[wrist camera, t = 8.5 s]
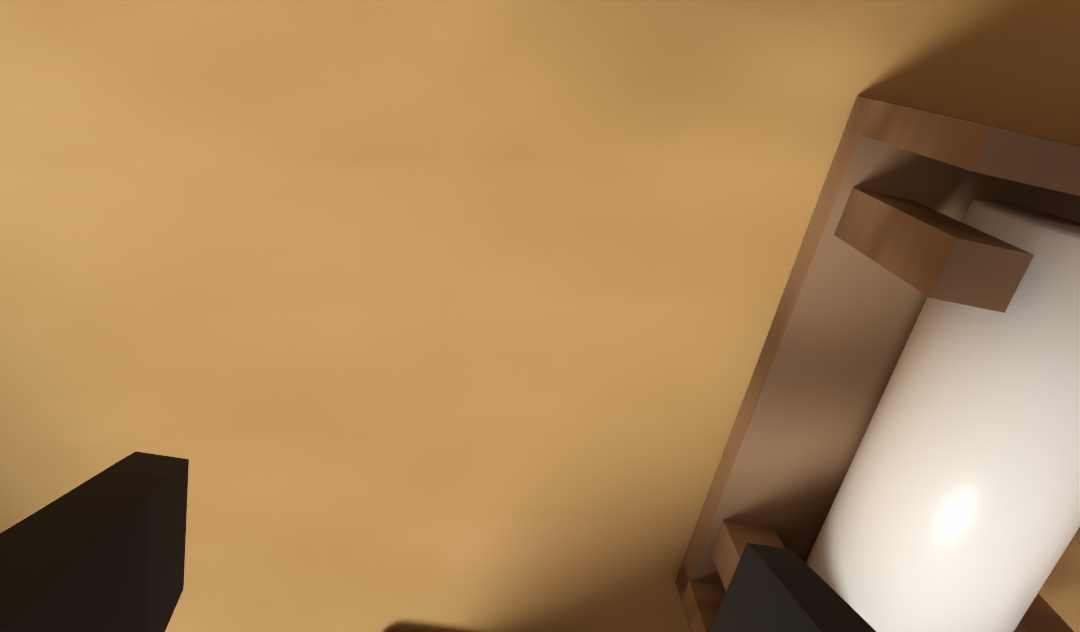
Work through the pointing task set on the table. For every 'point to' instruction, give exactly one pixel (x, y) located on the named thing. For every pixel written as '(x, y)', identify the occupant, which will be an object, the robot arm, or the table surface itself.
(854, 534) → the cylinder
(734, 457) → the holder
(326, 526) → the table surface
